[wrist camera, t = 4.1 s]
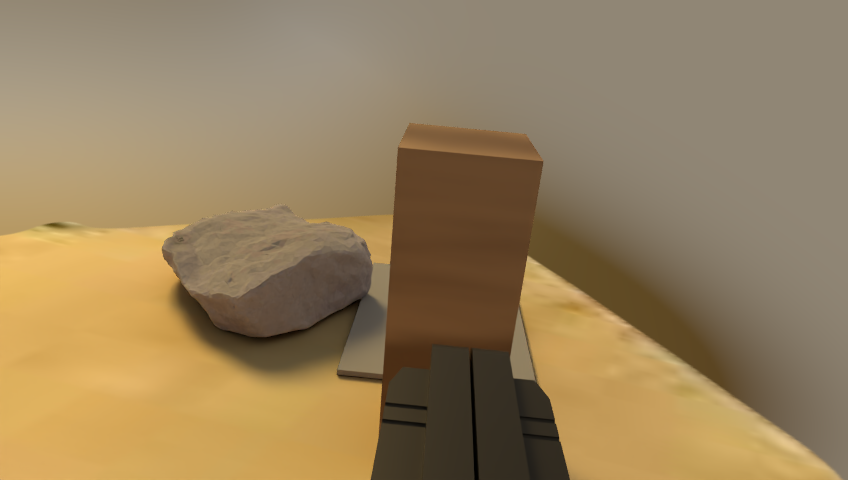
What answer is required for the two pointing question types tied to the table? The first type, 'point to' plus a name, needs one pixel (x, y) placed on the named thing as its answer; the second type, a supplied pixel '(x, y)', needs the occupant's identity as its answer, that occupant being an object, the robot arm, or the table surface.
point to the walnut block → (457, 242)
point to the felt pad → (370, 331)
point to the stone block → (269, 269)
